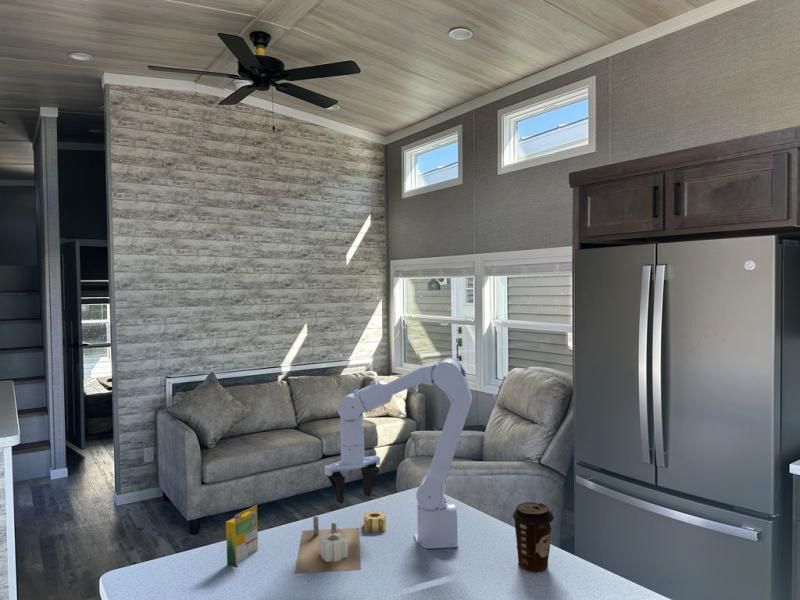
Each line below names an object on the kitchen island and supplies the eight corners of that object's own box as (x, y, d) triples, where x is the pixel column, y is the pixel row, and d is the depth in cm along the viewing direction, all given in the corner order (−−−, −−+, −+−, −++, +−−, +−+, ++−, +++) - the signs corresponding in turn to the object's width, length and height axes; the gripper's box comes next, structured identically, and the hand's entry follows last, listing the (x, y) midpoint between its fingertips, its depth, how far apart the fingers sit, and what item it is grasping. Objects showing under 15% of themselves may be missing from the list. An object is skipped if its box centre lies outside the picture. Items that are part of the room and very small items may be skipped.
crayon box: (249, 551, 137) (248, 502, 137) (258, 554, 136) (258, 504, 135) (226, 564, 131) (225, 513, 130) (236, 567, 129) (235, 515, 129)
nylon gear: (340, 548, 136) (339, 531, 135) (348, 558, 131) (348, 540, 131) (318, 553, 133) (317, 536, 133) (326, 563, 128) (326, 545, 128)
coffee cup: (555, 561, 130) (555, 502, 130) (552, 578, 122) (552, 516, 122) (516, 555, 133) (515, 498, 133) (510, 572, 125) (510, 512, 125)
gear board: (359, 531, 147) (358, 510, 147) (360, 574, 125) (360, 548, 125) (302, 534, 146) (302, 512, 146) (294, 577, 124) (294, 552, 124)
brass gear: (384, 526, 151) (384, 510, 150) (386, 534, 145) (385, 518, 145) (364, 527, 150) (363, 511, 150) (364, 536, 145) (364, 519, 145)
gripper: (369, 435, 151) (370, 488, 151) (318, 445, 143) (319, 500, 143) (384, 441, 145) (385, 495, 146) (331, 451, 137) (333, 509, 137)
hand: (353, 498), depth 144 cm, fingers open, 7 cm apart
